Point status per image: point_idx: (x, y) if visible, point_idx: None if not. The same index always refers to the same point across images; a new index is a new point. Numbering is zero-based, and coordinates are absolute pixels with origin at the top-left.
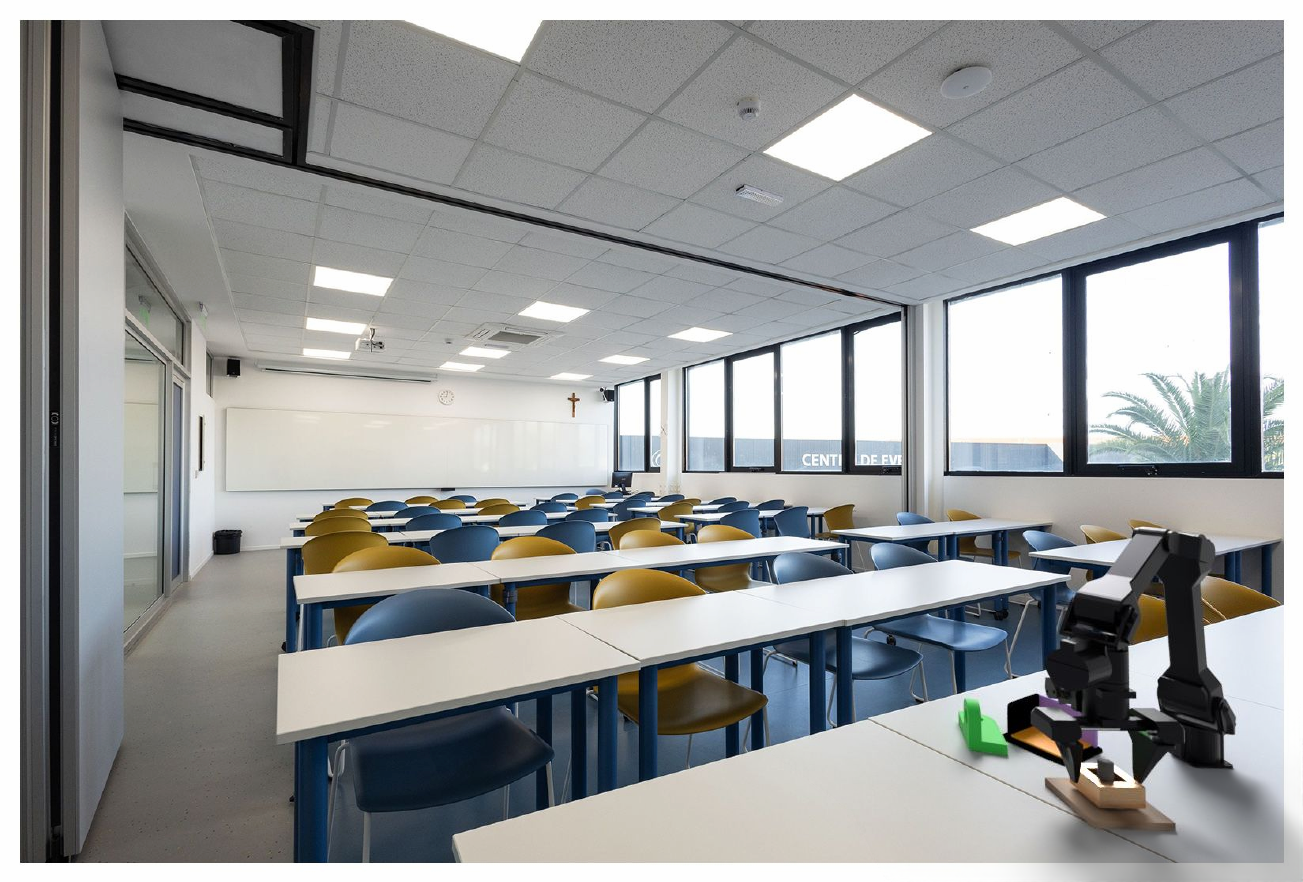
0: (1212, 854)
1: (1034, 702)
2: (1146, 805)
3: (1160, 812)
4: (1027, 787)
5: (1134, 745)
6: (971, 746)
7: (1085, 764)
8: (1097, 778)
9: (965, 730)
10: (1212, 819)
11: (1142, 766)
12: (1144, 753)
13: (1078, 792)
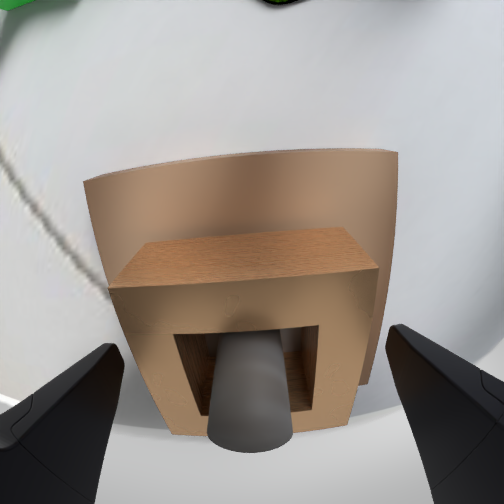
0: (369, 401)
1: None
2: None
3: (373, 351)
4: (54, 189)
5: (483, 436)
6: (4, 7)
7: (192, 300)
8: (189, 403)
9: None
10: (483, 291)
11: (417, 416)
12: (445, 468)
13: None
